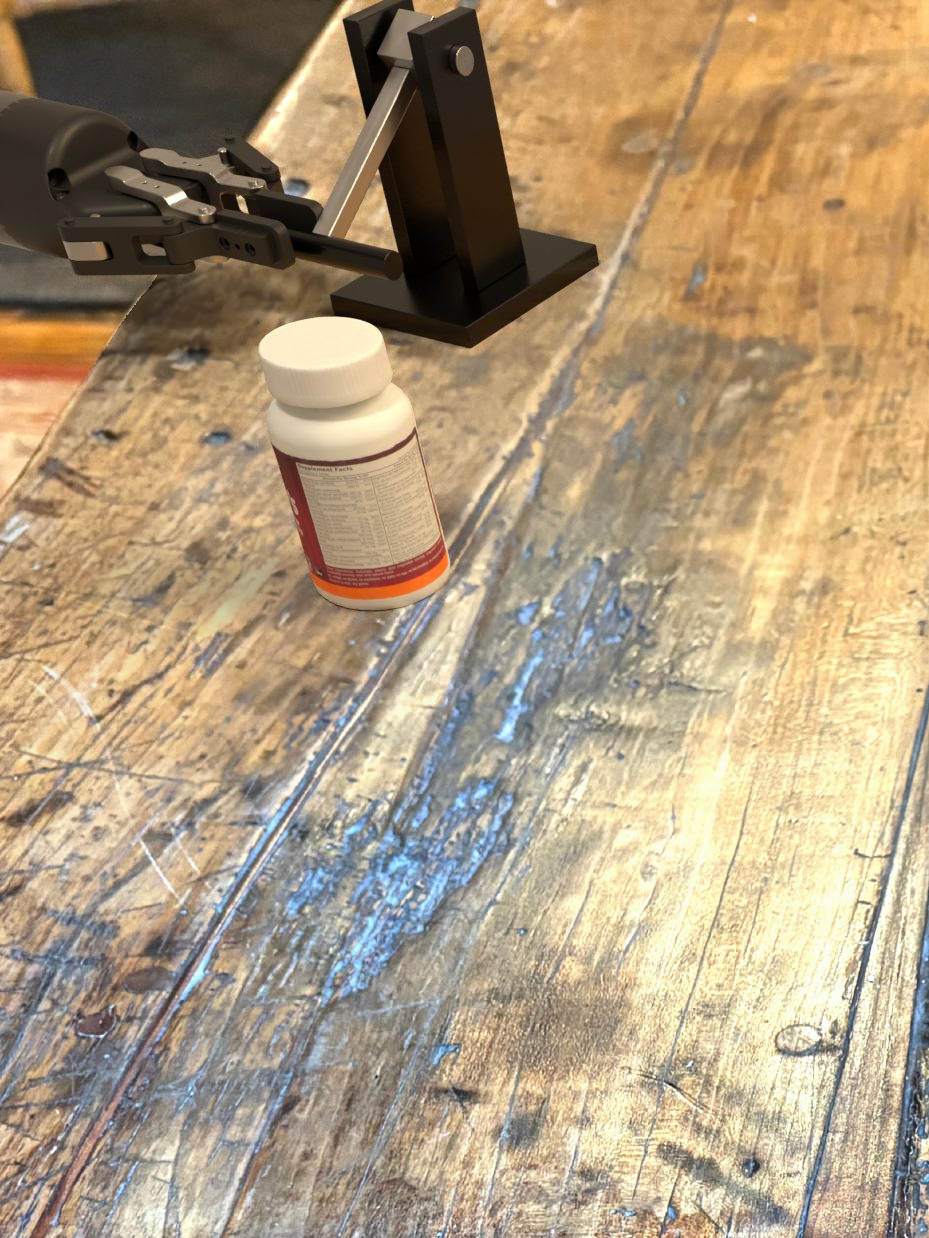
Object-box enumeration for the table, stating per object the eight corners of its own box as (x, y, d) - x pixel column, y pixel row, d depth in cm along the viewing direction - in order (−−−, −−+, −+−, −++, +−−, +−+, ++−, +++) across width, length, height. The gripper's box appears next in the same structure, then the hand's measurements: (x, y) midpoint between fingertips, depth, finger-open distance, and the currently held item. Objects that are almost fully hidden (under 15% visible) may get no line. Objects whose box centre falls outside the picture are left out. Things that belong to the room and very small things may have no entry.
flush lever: (401, 293, 112) (374, 262, 110) (258, 259, 115) (230, 228, 112) (512, 60, 115) (489, 25, 112) (370, 31, 117) (344, -3, 115)
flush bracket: (471, 351, 118) (407, 65, 108) (334, 318, 121) (259, 35, 110) (600, 267, 126) (552, -7, 116) (469, 237, 128) (410, -34, 118)
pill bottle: (323, 550, 104) (253, 312, 96) (458, 543, 105) (400, 306, 96) (307, 620, 100) (232, 377, 91) (448, 611, 100) (386, 370, 92)
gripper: (-94, 147, 109) (188, 211, 105) (106, 56, 118) (373, 111, 114) (-34, 298, 115) (236, 364, 110) (152, 200, 123) (409, 258, 119)
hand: (304, 236), depth 112 cm, fingers closed
